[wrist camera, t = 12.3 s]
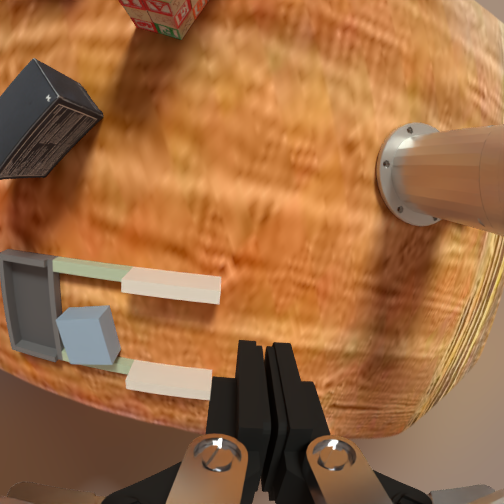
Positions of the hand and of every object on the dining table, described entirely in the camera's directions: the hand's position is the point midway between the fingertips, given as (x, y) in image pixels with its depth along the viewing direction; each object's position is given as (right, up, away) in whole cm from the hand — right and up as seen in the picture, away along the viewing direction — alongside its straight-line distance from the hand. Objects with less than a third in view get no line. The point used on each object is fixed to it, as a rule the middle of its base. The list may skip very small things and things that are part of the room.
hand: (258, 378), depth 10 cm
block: (-20, -5, +26) cm, 33 cm away
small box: (-22, +18, +20) cm, 35 cm away
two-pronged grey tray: (-19, -4, +25) cm, 31 cm away
